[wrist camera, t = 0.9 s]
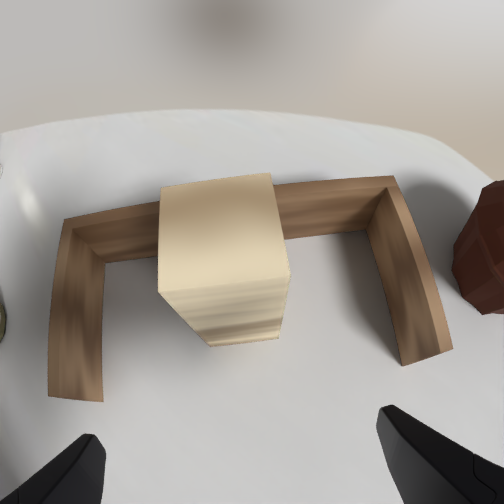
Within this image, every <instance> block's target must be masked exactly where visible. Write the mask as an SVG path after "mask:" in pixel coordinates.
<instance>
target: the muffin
mask: <svg viewBox="0 0 504 504" xmlns="http://www.w3.org/2000/svg"><path fill="white" fill-rule="evenodd" d="M452 272H453V274H454V276H455V278H456V280H457V282H458V285H459V288H460V291H461V294H462V297H463V298H464V299H465V300H466V301H468V302H469V303H471V304H472V305H473V306H474V307H475V308H476V309H477V310H478V311H479V312H480V313H481V314H482V315H485V314H491V313H495V314H504V180H502V181H495V182H493V183H491V184H489V185H487V186H486V187H484V188H482V191H481V194H480V197H479V200H478V203H477V205H476V206H475V208H474V210H473V212H472V214H471V216H470V218H469V219H468V221H467V223H466V225H465V227H464V228H463V230H462V232H461V233H460V235H459V237H458V239H457V240H456V242H455V244H454V259H453V264H452Z"/></svg>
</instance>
